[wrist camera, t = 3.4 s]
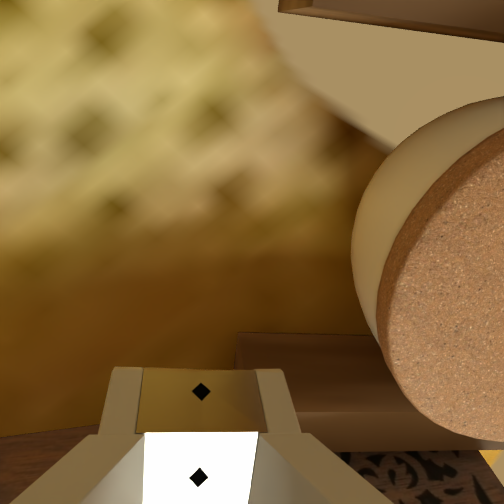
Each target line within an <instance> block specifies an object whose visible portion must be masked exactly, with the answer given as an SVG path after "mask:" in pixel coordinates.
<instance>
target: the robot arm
mask: <svg viewBox="0 0 504 504" xmlns="http://www.w3.org/2000/svg"><path fill="white" fill-rule="evenodd" d="M10 504H394V503H393V502H391V501H390V500H389V499H388V498H387V497H385V496H384V495H383V494H382V493H381V492H379V491H378V490H377V489H376V488H375V487H374V486H372V485H371V484H370V483H369V482H368V481H366V480H365V479H364V478H363V477H362V476H360V475H359V474H358V473H357V472H356V471H354V470H353V469H352V468H351V467H350V466H348V465H347V464H346V463H345V462H344V461H343V460H341V459H340V458H339V457H338V456H337V455H335V454H334V453H333V452H332V451H331V450H329V449H328V448H327V447H326V446H325V445H323V444H322V443H321V442H320V441H319V440H318V439H316V438H315V437H314V436H313V435H312V434H310V433H301V429H300V426H299V423H298V419H297V416H296V413H295V409H294V406H293V403H292V399H291V396H290V393H289V389H288V386H287V383H286V379H285V376H284V373H283V371H282V370H281V369H254V370H200V369H184V368H156V367H144V368H142V367H114V369H113V370H112V373H111V377H110V382H109V386H108V391H107V395H106V400H105V404H104V409H103V413H102V418H101V422H100V427H99V431H98V435H88V436H86V437H85V438H84V439H83V440H82V441H81V442H80V443H78V444H77V445H76V446H75V447H74V448H73V449H71V450H70V451H69V452H68V453H67V454H66V455H65V456H63V457H62V458H61V459H60V460H59V461H58V462H57V463H55V464H54V465H53V466H52V467H51V468H50V469H49V470H47V471H46V472H45V473H44V474H43V475H42V476H41V477H39V478H38V479H37V480H36V481H35V482H34V483H33V484H31V485H30V486H29V487H28V488H27V489H26V490H25V491H23V492H22V493H21V494H20V495H19V496H18V497H17V498H15V499H14V500H13V501H12V502H11V503H10Z"/></svg>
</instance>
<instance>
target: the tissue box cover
mask: <svg viewBox="0 0 504 504" xmlns="http://www.w3.org/2000/svg"><path fill="white" fill-rule="evenodd" d="M99 427H100V424H99V425H91V426H83V427H76V428H68V429H60V430H53V431H45V432H38V433H30V434H22V435H15V436H7V437H0V504H10V503H11V502H12V501H13V500H14V499H15V498H17V497H18V496H19V495H20V494H21V493H22V492H23V491H25V490H26V489H27V488H28V487H29V486H30V485H31V484H33V483H34V482H35V481H36V480H37V479H38V478H39V477H41V476H42V475H43V474H44V473H45V472H46V471H47V470H49V469H50V468H51V467H52V466H53V465H54V464H55V463H57V462H58V461H59V460H60V459H61V458H62V457H63V456H65V455H66V454H67V453H68V452H69V451H70V450H71V449H73V448H74V447H75V446H76V445H77V444H78V443H80V442H81V441H82V440H83V439H84V438H85V437H86V436H88V435H98V431H99ZM333 453H334V454H335V455H337V456H338V457H339V458H340V459H341V460H343V461H344V462H345V463H346V464H347V465H348V466H350V467H351V468H352V469H353V470H354V471H356V472H357V473H358V474H359V475H360V476H362V477H363V478H364V479H365V480H366V481H368V482H369V483H370V484H371V485H372V486H374V487H375V488H376V489H377V490H378V491H379V492H381V493H382V494H383V495H384V496H385V497H387V498H388V499H389V500H390V501H391V502H393V503H394V504H504V487H503V485H502V484H501V482H500V481H499V480H498V478H497V477H496V475H495V474H494V472H493V471H492V469H491V468H490V466H489V465H488V464H487V462H486V461H485V459H484V458H483V456H482V455H481V453H480V452H479V451H478V450H446V451H378V452H333Z"/></svg>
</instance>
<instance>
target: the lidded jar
mask: <svg viewBox="0 0 504 504" xmlns="http://www.w3.org/2000/svg"><path fill="white" fill-rule="evenodd" d="M351 263H352V270H353V277H354V283H355V289H356V292H357V295H358V298H359V301H360V304H361V307H362V310H363V313H364V316H365V318H366V321H367V324H368V325H369V327H370V329H371V331H372V333H373V335H374V337H375V339H376V341H377V342H378V344H379V346H380V348H381V350H382V353H383V356H384V360H385V362H386V364H387V366H388V368H389V370H390V371H391V373H392V375H393V377H394V378H395V380H396V382H397V384H398V386H399V387H400V389H401V391H402V392H403V394H404V395H405V397H406V398H407V399H408V400H409V401H410V402H411V403H412V404H413V406H414V407H415V408H416V409H417V410H418V411H419V412H420V413H422V414H423V415H424V416H426V417H427V418H429V419H430V420H431V421H433V422H434V423H436V424H438V425H440V426H442V427H444V428H446V429H448V430H450V431H452V432H455V433H458V434H462V435H465V436H469V437H473V438H477V439H483V440H491V441H498V442H504V96H503V97H498V98H492V99H488V100H483V101H479V102H475V103H471V104H467V105H465V106H463V107H460V108H458V109H455V110H453V111H450V112H448V113H446V114H444V115H442V116H440V117H438V118H436V119H435V120H433V121H431V122H429V123H428V124H426V125H424V126H422V127H421V128H419V129H418V130H416V131H415V132H414V133H413V134H411V135H410V136H409V137H407V138H406V139H405V140H404V141H402V142H401V143H400V144H399V145H398V146H397V147H396V148H395V149H394V150H393V151H392V153H391V154H390V155H389V156H388V157H387V158H386V159H385V160H384V162H383V163H382V164H381V166H380V167H379V168H378V170H377V171H376V172H375V174H374V175H373V177H372V179H371V181H370V183H369V184H368V186H367V188H366V190H365V192H364V194H363V196H362V199H361V202H360V204H359V207H358V210H357V213H356V218H355V223H354V228H353V233H352V241H351Z"/></svg>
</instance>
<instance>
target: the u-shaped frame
mask: <svg viewBox="0 0 504 504" xmlns="http://www.w3.org/2000/svg"><path fill="white" fill-rule="evenodd" d="M278 12H281V13H288V14H296V15H303V16H310V17H318V18H325V19H333V20H340V21H348V22H355V23H362V24H369V25H377V26H384V27H392V28H399V29H407V30H413V31H421V32H428V33H436V34H443V35H450V36H458V37H465V38H472V39H480V40H488V41H494V42H502V43H504V0H279V5H278ZM254 369H281V370H282V371H283V373H284V376H285V379H286V383H287V386H288V389H289V393H290V396H291V399H292V403H293V406H294V409H295V413H296V416H297V419H298V423H299V426H300V429H301V433H310V434H312V435H313V436H314V437H315V438H316V439H318V440H319V441H320V442H321V443H322V444H323V445H325V446H326V447H327V448H328V449H329V450H331V451H332V452H378V451H446V450H504V442H498V441H491V440H483V439H477V438H473V437H469V436H465V435H462V434H458V433H455V432H452V431H450V430H448V429H446V428H444V427H442V426H440V425H438V424H436V423H434V422H433V421H431V420H430V419H429V418H427V417H426V416H424V415H423V414H422V413H420V412H419V411H418V410H417V409H416V408H415V407H414V406H413V404H412V403H411V402H410V401H409V400H408V399H407V398H406V397H405V395H404V394H403V392H402V391H401V389H400V387H399V386H398V384H397V382H396V380H395V378H394V377H393V375H392V373H391V371H390V370H389V368H388V366H387V364H386V362H385V360H384V356H383V353H382V350H381V348H380V346H379V344H378V342H377V341H376V339H375V337H374V336H361V335H323V334H285V333H247V332H238V338H237V346H236V354H235V362H234V370H254Z"/></svg>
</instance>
